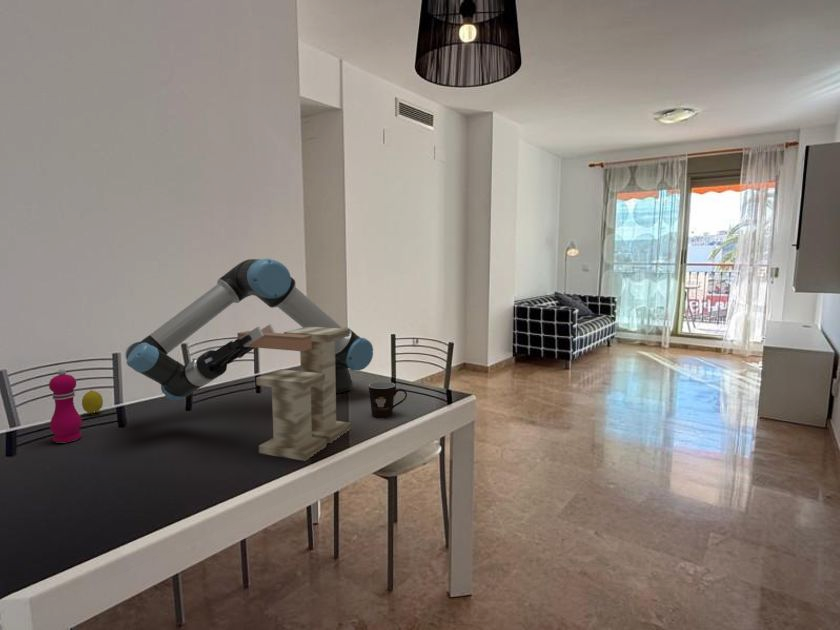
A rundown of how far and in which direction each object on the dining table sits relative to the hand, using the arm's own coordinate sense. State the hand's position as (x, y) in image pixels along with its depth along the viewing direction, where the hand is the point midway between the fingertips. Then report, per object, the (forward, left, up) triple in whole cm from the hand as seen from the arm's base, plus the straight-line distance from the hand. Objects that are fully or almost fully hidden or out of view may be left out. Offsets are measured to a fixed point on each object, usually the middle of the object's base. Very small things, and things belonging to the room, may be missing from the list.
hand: (266, 330), depth 126 cm
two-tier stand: (-9, +4, -31) cm, 33 cm away
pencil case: (-1, +2, -4) cm, 5 cm away
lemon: (+22, -67, -32) cm, 77 cm away
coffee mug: (-38, +6, -32) cm, 50 cm away
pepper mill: (+34, -47, -32) cm, 66 cm away
